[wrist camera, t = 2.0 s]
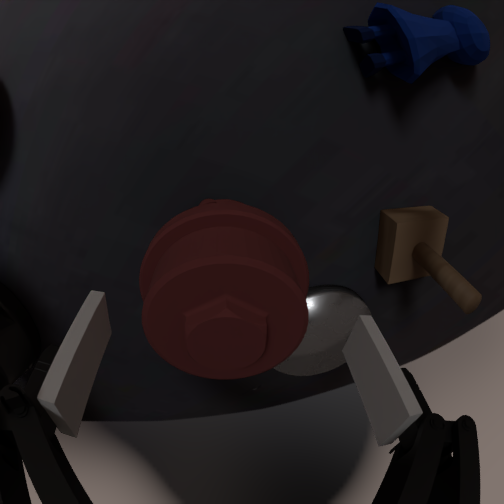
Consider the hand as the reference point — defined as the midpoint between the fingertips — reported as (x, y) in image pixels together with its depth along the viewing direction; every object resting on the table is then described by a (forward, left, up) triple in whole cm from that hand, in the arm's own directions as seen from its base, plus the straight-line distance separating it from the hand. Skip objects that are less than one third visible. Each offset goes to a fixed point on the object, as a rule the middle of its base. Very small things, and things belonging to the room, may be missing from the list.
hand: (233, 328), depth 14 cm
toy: (+13, +21, -12) cm, 27 cm away
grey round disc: (+11, -10, -11) cm, 18 cm away
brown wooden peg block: (+17, +2, -11) cm, 20 cm away
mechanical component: (0, 0, -11) cm, 11 cm away
